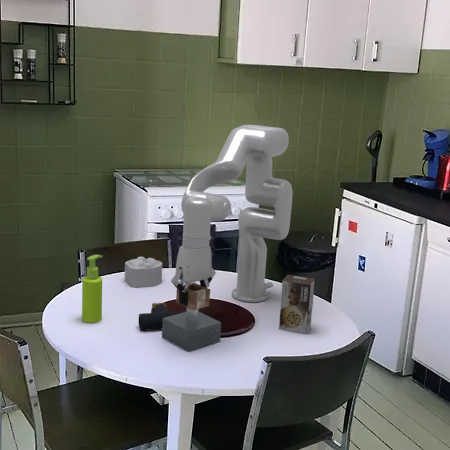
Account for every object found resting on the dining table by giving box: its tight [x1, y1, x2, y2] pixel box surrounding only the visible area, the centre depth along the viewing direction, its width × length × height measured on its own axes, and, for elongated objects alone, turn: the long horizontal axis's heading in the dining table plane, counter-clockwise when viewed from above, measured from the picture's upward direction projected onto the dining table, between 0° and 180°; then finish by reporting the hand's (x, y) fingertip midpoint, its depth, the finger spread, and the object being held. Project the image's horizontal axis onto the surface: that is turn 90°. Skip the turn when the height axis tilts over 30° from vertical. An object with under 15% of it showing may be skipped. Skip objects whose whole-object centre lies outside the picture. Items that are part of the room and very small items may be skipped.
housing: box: [161, 308, 222, 353], centre depth 189 cm, size 12×12×12 cm
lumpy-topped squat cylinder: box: [124, 256, 163, 289], centre depth 235 cm, size 10×13×9 cm
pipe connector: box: [138, 302, 186, 332], centre depth 200 cm, size 12×5×15 cm
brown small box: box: [175, 282, 211, 310], centre depth 187 cm, size 6×7×5 cm
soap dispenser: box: [81, 254, 104, 324], centre depth 198 cm, size 6×7×20 cm
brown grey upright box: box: [278, 274, 316, 335], centre depth 201 cm, size 9×6×16 cm
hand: (192, 301), depth 187 cm, fingers closed on brown small box, 6 cm apart
